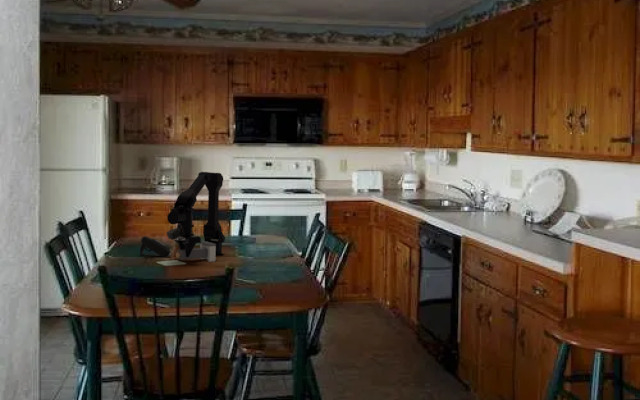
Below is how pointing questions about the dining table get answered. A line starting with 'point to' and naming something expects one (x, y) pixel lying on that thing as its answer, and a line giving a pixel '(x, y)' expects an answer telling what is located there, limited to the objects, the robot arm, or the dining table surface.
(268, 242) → the dining table surface
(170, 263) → the mat
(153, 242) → the gun
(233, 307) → the dining table surface
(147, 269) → the dining table surface
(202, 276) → the dining table surface
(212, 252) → the clip
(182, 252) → the grey tall block
